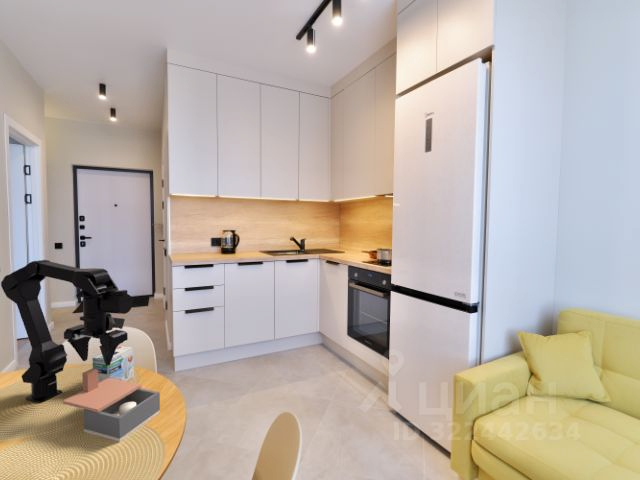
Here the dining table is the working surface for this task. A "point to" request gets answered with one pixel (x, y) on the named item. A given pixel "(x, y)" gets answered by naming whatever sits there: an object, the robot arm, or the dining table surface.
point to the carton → (123, 415)
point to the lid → (100, 392)
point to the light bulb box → (116, 365)
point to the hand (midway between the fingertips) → (96, 362)
